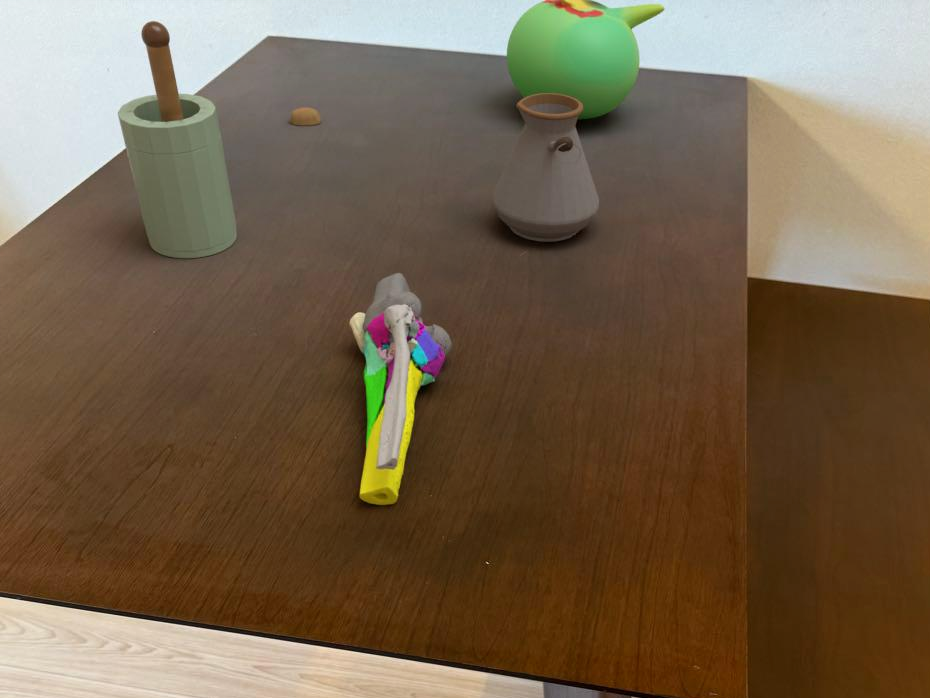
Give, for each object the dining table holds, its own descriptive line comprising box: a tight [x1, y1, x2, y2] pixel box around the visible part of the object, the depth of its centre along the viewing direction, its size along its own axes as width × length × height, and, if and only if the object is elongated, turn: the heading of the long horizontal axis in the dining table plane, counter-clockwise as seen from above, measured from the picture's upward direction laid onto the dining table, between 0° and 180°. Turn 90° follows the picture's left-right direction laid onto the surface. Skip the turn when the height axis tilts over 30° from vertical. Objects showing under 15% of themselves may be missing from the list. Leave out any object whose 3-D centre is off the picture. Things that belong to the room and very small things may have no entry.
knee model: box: [349, 272, 453, 506], centre depth 78 cm, size 9×8×25 cm
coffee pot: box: [492, 93, 600, 243], centre depth 97 cm, size 21×12×15 cm, turn 4°
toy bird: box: [506, 0, 666, 120], centre depth 125 cm, size 18×17×15 cm
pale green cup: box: [117, 93, 238, 259], centre depth 96 cm, size 9×9×13 cm
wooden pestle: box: [141, 20, 183, 122], centre depth 93 cm, size 4×4×20 cm
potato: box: [289, 106, 322, 126], centre depth 124 cm, size 3×4×2 cm, turn 99°
